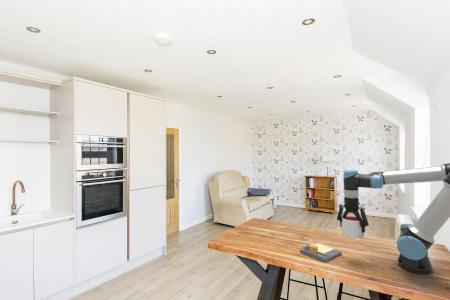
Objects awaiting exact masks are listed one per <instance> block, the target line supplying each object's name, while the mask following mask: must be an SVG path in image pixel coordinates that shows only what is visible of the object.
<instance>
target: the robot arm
mask: <svg viewBox="0 0 450 300" xmlns="http://www.w3.org/2000/svg"><path fill="white" fill-rule="evenodd" d="M342 180H343V196H344V197H343V202H344V204H343V203H342V204H339V205H338V207H339V208H338V211H337V212H338V213H337V216H336V220H337V221H338V222H339V225H340V226H339V227H340V228H341V234H343V221H342V218H343V219H344V218H346V216H348V215H349V214H353V215H354V217H356V218H357V219H358V221H359V223H360V225H361V226H360V238H359V239H361V240H362V239H363V238H365V234H364V233H366V227H368V226H370V225H369V221H368V218H367V215H366V208H365V207H360V206H359V203H360V201H359V200H360V199H359V188H365V189H367V188H368V189H373V190H374V189H382V188H384V186H385V185H398V184H399V185H400V184H402V185H403V184H414V183H416V184H417V183H418V184H419V183H431V182H442V183H443V187H442V188H441V190H440V191H439V192H438V194H436V196H435V197H434V199H433V200H432V201H431V202H430V203H429V205H428V206H427V208H426V209H425V210H424V211H423V212H422V214H421V215H420V216H419V218H417V220H416V222H415V223H414V224H413V223H402V224H400V227H399V231H400V234H399V237H398V238H397V241H396V248H397V250H398V252H399V255H398V258H397V266H399V267H400V268H401V269H403V270H405V271H408V272H410V273H414V274H419V275H420V274H422V275H429V274H432V273H433V270H434V269H433V268H434V267H433V265H432V262H431V260H430V257H429V255H428V253H429V252H428V251H429V249H430V248H431V247H432V246H433V245H434V243H435V239H434V237H435V236H436V234H437V233H438V232H439V230H441V228H443V226H444V225H445V224H446V222H447V221H448V220H449V219H450V162H449V163H442V164H441V165H439V166H438V165H437V166H429V167H428V166H427V167H417V168H409V169H408V168H407V169H398V170H397V169H396V170H395V169H394V170H389V171H387V170H386V171H373V172H369V173H367V174H365V173H364V174H363V173H359V172H358V170H356V169H346V170H344V171H343V178H342ZM344 209H345V210H344Z"/></svg>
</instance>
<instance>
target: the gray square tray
mask: <svg viewBox="0 0 450 300" xmlns="http://www.w3.org/2000/svg"><path fill="white" fill-rule="evenodd" d="M310 245H311V244H306V245H303V246H302V247H303V248H301V249H299V253H300V254H302V255H304V256H307V257H308V258H309V257H310V258H312V259H314V260H318V261H319V262H321V263H324V264H327V263H329V262H330V261H333V260H335V259H337V258H339V257H341V256H342V254H343V253H342V251H340V250H337V249H334V248H332V247H329V246H327V245H324V244H321V243H314V244H312V245H314V246H317V247H318V253H317V254H314V253H312V252H309V246H310Z"/></svg>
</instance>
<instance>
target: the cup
mask: <svg viewBox="0 0 450 300" xmlns="http://www.w3.org/2000/svg"><path fill="white" fill-rule="evenodd" d="M342 221H343V233H342V234H343V235H344V237H347V238H352V239H361V238H360V226H361V225H360V223H359V221H358V219H357V218H356V216H350V215H349V216H348V215H347V216H346V218H344V219H343V218H342Z"/></svg>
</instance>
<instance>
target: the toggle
mask: <svg viewBox="0 0 450 300" xmlns="http://www.w3.org/2000/svg"><path fill="white" fill-rule="evenodd" d="M309 245H310V246H309V252H312V253H314V254H317V253H318V247H317V246H314V245H313V244H309Z"/></svg>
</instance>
